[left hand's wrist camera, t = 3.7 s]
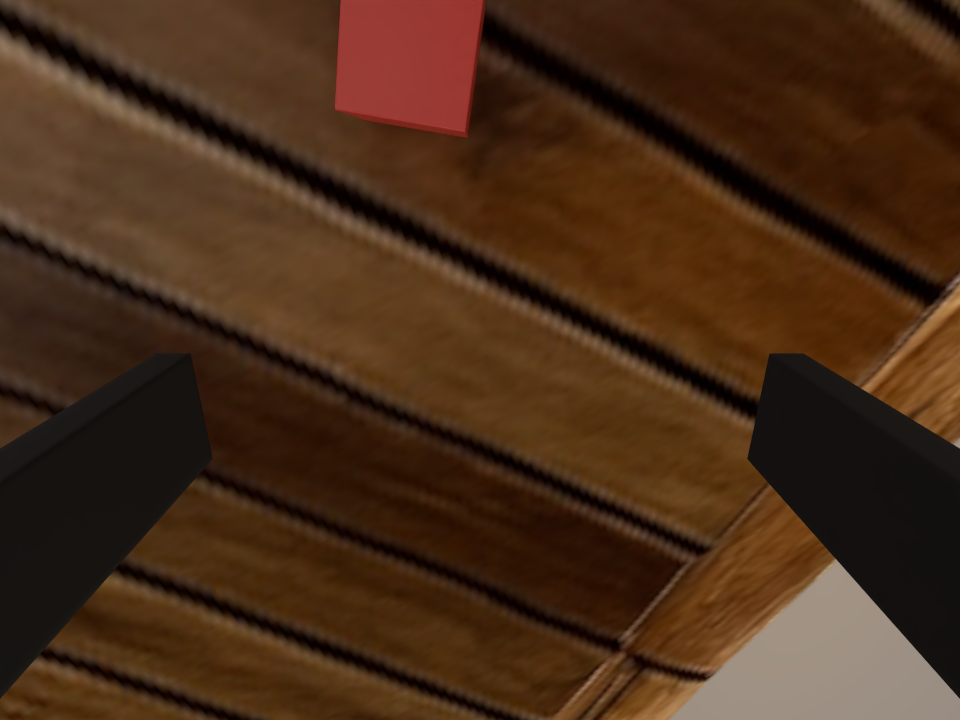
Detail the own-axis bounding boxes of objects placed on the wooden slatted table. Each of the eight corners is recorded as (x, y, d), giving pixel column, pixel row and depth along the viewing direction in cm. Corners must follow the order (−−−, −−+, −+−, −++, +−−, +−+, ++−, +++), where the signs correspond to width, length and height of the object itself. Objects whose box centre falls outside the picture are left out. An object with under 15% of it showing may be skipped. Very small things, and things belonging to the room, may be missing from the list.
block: (364, 120, 22) (334, 109, 17) (373, -11, 20) (343, -62, 15) (467, 138, 22) (465, 132, 17) (485, 10, 20) (488, -35, 16)
